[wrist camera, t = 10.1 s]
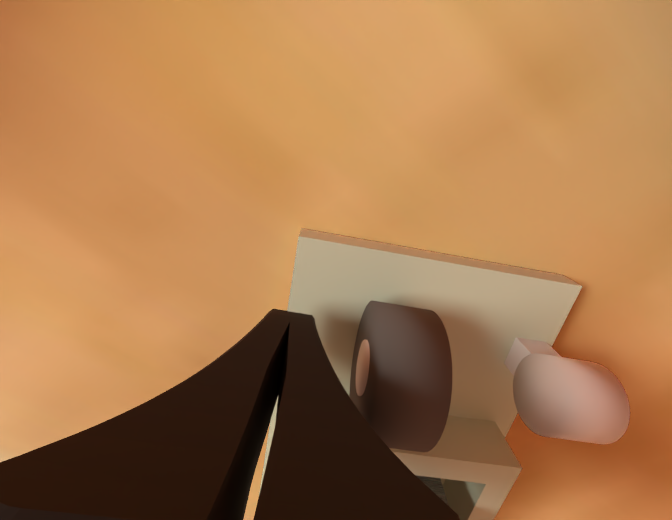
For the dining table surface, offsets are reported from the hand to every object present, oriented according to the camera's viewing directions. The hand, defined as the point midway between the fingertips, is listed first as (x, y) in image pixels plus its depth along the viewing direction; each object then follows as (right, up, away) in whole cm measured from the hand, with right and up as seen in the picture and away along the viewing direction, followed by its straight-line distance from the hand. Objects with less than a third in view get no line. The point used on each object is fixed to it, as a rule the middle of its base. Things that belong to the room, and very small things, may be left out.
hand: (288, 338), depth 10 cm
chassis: (+4, -5, +4) cm, 7 cm away
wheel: (+3, 0, +1) cm, 4 cm away
